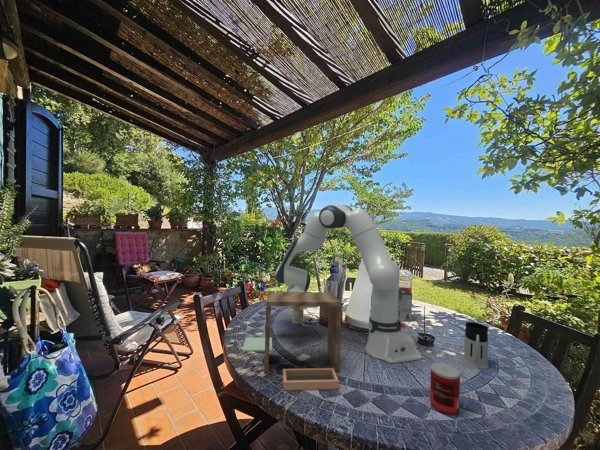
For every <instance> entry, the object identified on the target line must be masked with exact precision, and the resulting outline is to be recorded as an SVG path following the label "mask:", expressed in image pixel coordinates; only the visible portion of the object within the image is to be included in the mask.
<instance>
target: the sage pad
mask: <svg viewBox="0 0 600 450" xmlns="http://www.w3.org/2000/svg"><path fill="white" fill-rule="evenodd" d="M272 351H273V338H272V337H270V345H269V352H272ZM242 352H265V337H245V339H244V343H243V346H242Z"/></svg>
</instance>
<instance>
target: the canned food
mask: <svg viewBox="0 0 600 450" xmlns="http://www.w3.org/2000/svg"><path fill="white" fill-rule="evenodd" d="M430 365H431V366H430V384H429V385H430V386H429V389H430V390H429V392H430V393H429V401H430V403H431V405H432V407H433V408H434V409H435V410H437V411H438V412H441V413H442V414H445V415H455V414H457V413H458V411H459V410H460V409H459V408H460V391H461V390H460V385H461V382H460V381H461V373H460V371H459V370H458V369H457V368H456V367H453V366H452V365H449V364H447V363H442V362H434V363H432V364H430Z"/></svg>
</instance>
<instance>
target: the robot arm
mask: <svg viewBox="0 0 600 450" xmlns="http://www.w3.org/2000/svg"><path fill="white" fill-rule="evenodd" d="M342 228H346V229H348V231H349V233H350V235H351V237H352V239H353V241H354V242H355V243H354V244H355V245H356V247H357V249H358V252H359V253H360V256H361V258H362V261H363V264H364V266H365V270H366V272H367V275H368V278H369V281H370V283H371V285H372V288H371V289H372V290H371V295H370V296H371V310H370V312H369V314H370V315H369V318H368V337H367V342H366V345H365V348H364V350H365V352H366V353H367V355H369V356H371V357H373V358H375V359H379V360H383V361H384V362H387V363H390V364H396V363H403V362H404V363H405V362H412V361H419V360H422V354H421V352H420V351H419V350H418V349H417V348H416V344H415V341H414V339H413V338H412V336H410V335H409V334H408V333H407V332H405V330H403V329H406V328H407V324H406V323H404V321H400V319H399V318H398V295H399V290H400V275H401V271H400V267H399V265H398V264H397V263H396V262H395V261H394V260H392V259H391V256H390V254H389V251H388V249H387V247H386V244H385V242H384V240H383V238H382V236H381V234H380V232H379V230H378V228H377V226H376V224H375V223H374V221H373V219H372V217H370V215H369V214H368V213H367V211H366V210H364V209H363V208H357V209H353V208H351V206H349V205H345V204H343V205H341V204H329V205H326V206H324V207H323V208H322V209H321V210H320V211H315V212H314V211H313V213H311V215H310V217H309V218H308V220H307V223H306V225H305V228H304V231H303V232H302V234H301V235H299V237H295V238H294V239H293V240H292V242H291V244H290V245H289V246H288V249H287V251H286V253H285V254H284V256H283V257H282V259H281V261H280V263H279V264H278V266H277V268H276V269H275V271H274V279H275V281H276V282H277V283H278V284H282V285H283V284H284V285H288V286H287V289H286V291H285V292H308V290H309V287H310V284H311V275H310V272H309V271H308V270H306V269H303V268H299V267H295V266H292V265H290V264H291V262H292V260H293V258H294V257H295V255H296V254H298V253H300V252H302V253H303V252H311V251H316V250H318V249H320V248H321V247H322V246H323V244H324V242H325V240H326V237H327V234H328V232H329V230H335V229H342ZM274 307H275V308H278V309H280V308H282V309H283V308H284V309H285V308H289V309H290V310H293V306H274ZM319 307H320V306H304V310H307V309H311V308H312V309H315V308H319Z"/></svg>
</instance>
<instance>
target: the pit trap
mask: <svg viewBox="0 0 600 450" xmlns="http://www.w3.org/2000/svg"><path fill="white" fill-rule="evenodd" d="M282 387H283V388H282V390H283V391H305V390H306V391H309V390H310V391H311V390H339V387H340V380H339V378H338V376H337V373H335V370H334V368H333V367H325V368H324V367H321V368H319V367H316V368H315V367H314V368H312V367H311V368H282Z"/></svg>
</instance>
